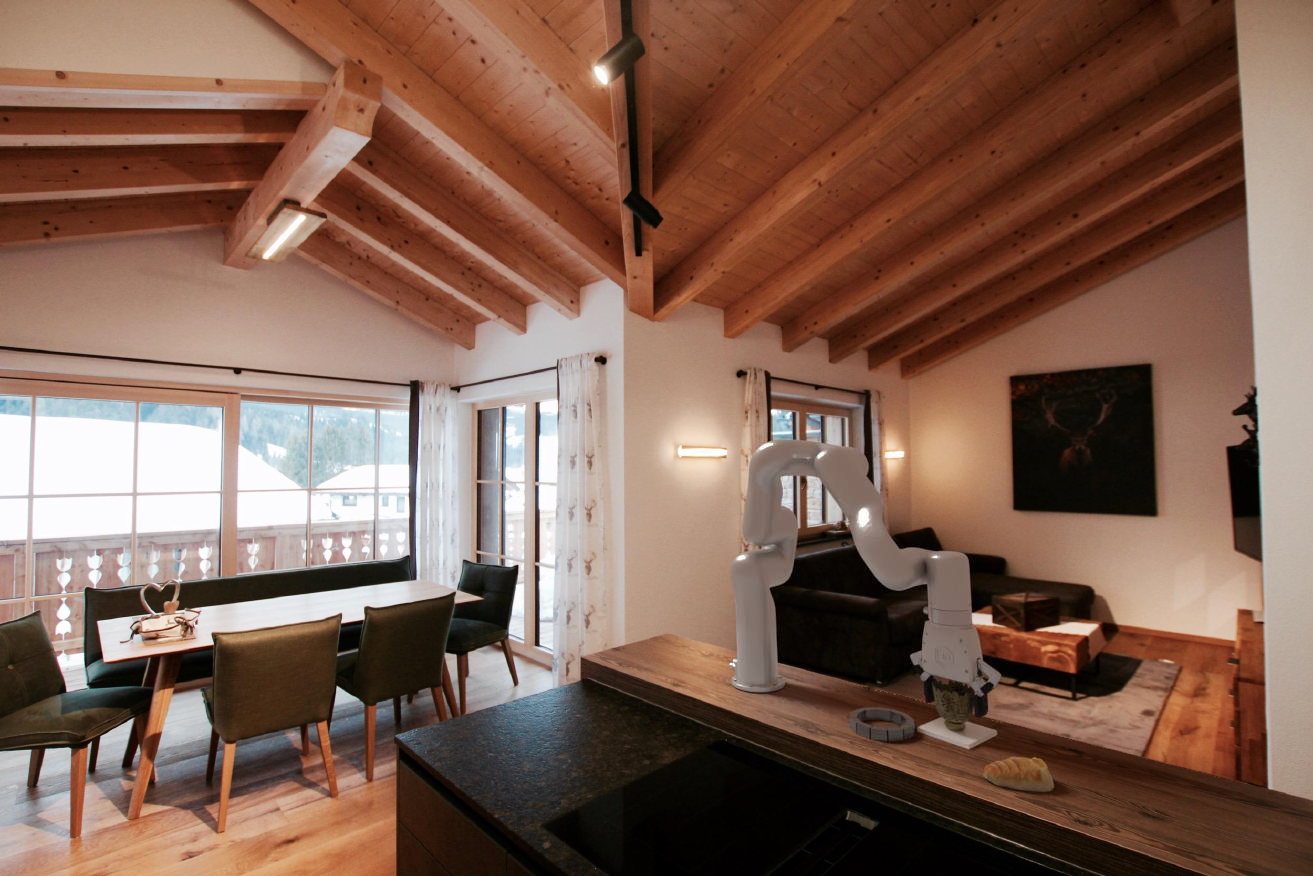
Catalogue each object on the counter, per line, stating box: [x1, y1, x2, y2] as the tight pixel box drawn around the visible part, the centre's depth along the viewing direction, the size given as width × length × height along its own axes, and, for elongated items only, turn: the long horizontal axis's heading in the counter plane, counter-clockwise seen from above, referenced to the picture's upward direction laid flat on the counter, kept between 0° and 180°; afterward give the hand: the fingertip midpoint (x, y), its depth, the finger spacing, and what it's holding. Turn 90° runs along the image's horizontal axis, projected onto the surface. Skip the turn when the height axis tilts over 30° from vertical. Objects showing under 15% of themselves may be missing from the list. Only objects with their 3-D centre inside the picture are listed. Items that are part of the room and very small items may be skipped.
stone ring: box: [849, 706, 915, 743], centre depth 121 cm, size 12×12×2 cm
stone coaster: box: [916, 716, 998, 750], centre depth 118 cm, size 10×10×1 cm
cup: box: [932, 679, 976, 731], centre depth 118 cm, size 8×7×8 cm
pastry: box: [982, 756, 1055, 793], centre depth 99 cm, size 9×7×4 cm
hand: (955, 708), depth 118 cm, fingers open, 9 cm apart
